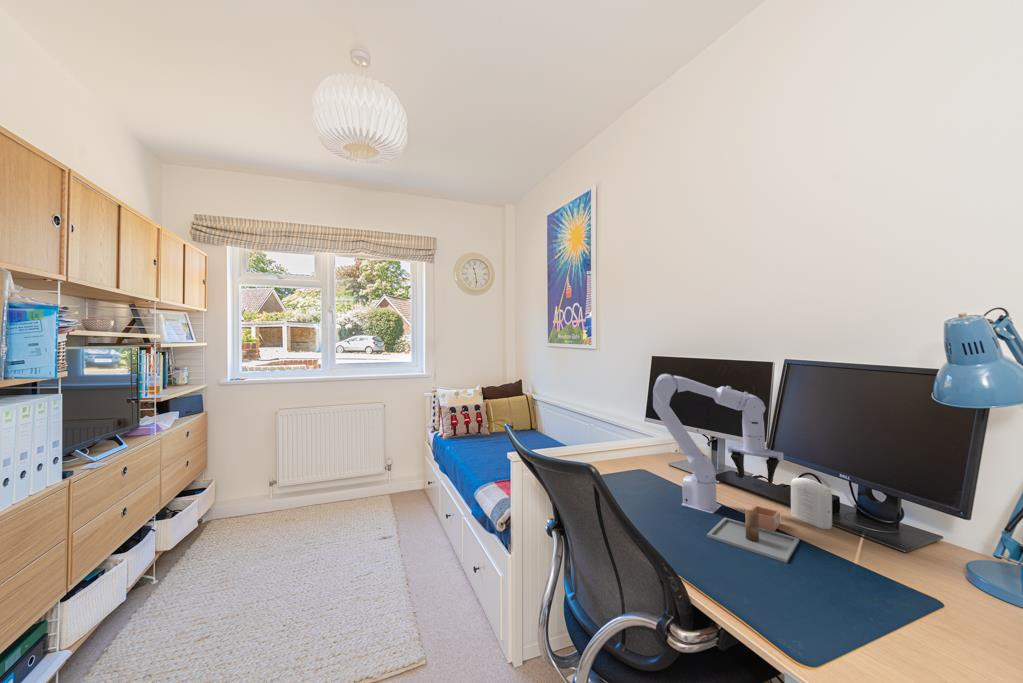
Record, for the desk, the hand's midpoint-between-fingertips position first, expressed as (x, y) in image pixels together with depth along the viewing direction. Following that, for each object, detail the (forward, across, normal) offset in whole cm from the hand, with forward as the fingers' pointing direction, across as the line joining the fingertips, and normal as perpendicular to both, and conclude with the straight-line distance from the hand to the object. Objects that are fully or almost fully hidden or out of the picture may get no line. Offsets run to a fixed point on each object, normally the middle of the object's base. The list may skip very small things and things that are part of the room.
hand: (755, 479), depth 121 cm
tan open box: (+10, +4, -7) cm, 13 cm away
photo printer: (+11, +12, +4) cm, 17 cm away
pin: (+10, +4, -19) cm, 22 cm away
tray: (+10, +4, -19) cm, 22 cm away
